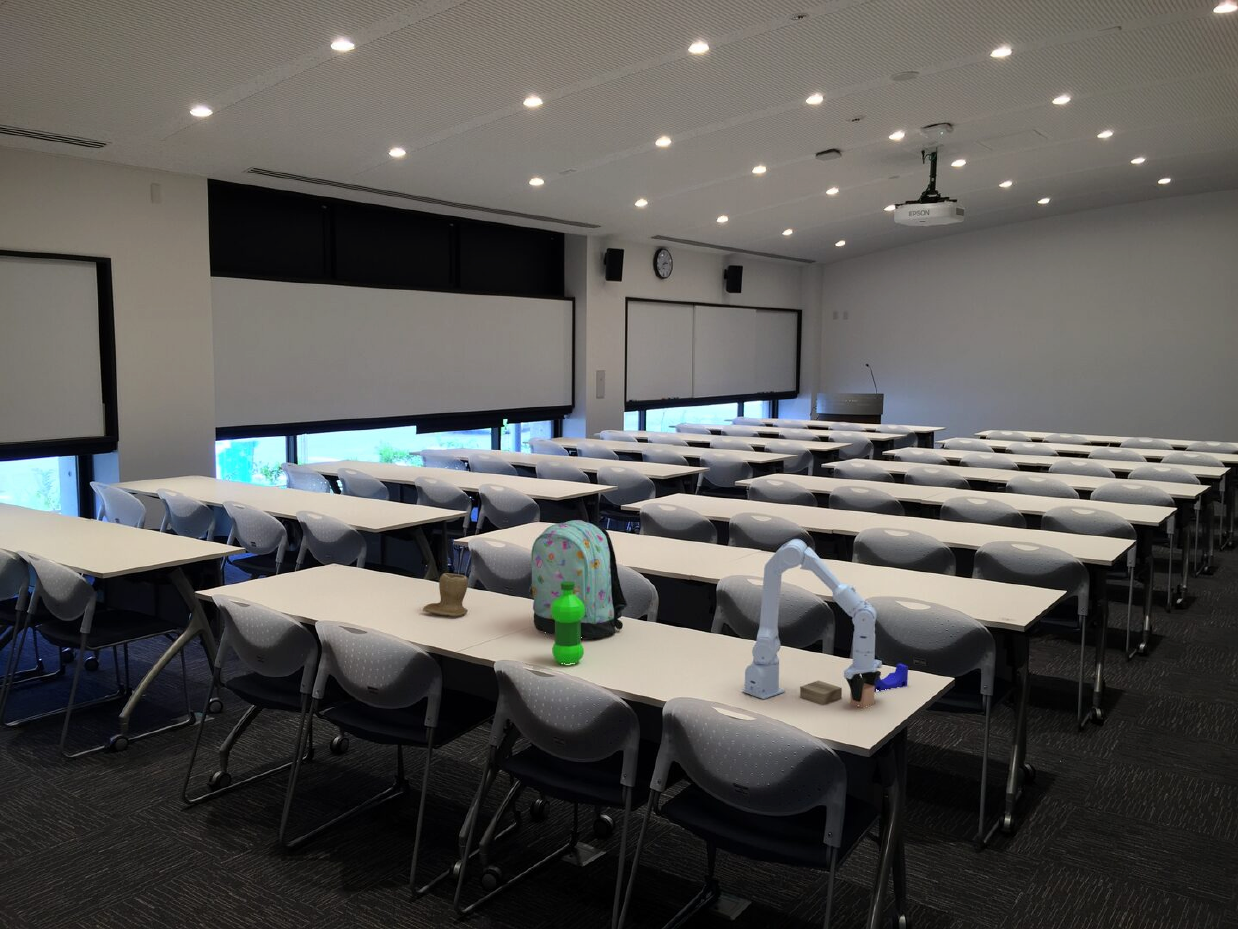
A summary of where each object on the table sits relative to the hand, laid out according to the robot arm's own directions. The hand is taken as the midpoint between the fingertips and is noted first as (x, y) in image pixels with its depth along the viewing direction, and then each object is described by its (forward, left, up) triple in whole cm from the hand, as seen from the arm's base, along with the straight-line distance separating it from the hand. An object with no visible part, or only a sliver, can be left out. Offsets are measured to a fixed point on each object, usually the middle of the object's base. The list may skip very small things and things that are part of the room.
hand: (862, 698), depth 257 cm
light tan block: (0, 0, -2) cm, 2 cm away
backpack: (-19, +103, -2) cm, 105 cm away
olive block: (-5, +10, -1) cm, 11 cm away
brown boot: (-39, +152, -2) cm, 157 cm away
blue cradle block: (+17, +4, -2) cm, 17 cm away
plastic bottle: (-40, +79, -2) cm, 89 cm away
